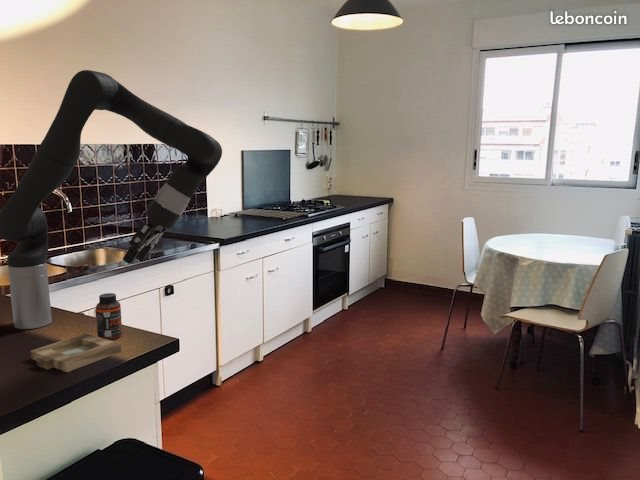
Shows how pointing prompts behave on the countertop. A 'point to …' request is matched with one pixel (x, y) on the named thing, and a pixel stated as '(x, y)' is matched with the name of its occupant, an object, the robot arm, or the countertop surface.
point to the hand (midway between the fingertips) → (132, 260)
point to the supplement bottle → (108, 317)
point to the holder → (74, 352)
